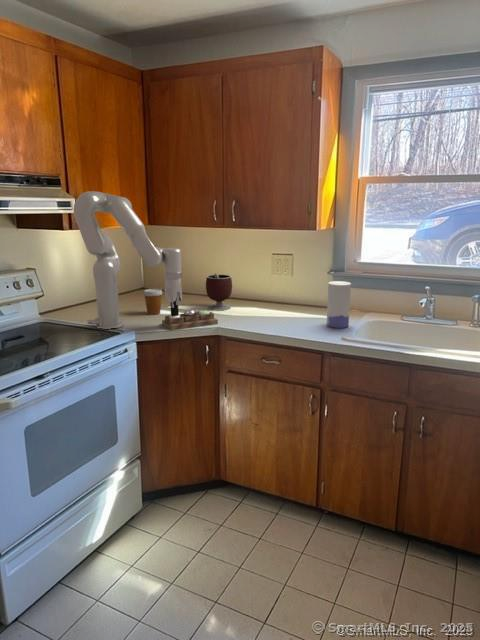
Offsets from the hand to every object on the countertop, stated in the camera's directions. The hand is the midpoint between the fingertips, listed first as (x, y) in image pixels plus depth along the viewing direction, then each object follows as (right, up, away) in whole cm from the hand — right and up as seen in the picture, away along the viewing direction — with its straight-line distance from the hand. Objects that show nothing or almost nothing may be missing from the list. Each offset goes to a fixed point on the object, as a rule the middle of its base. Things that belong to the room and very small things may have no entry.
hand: (174, 315), depth 217 cm
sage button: (+13, -1, +8) cm, 15 cm away
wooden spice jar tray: (+6, -4, +5) cm, 9 cm away
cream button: (0, -2, +1) cm, 2 cm away
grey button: (+6, 0, +4) cm, 7 cm away
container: (+75, -5, +3) cm, 75 cm away
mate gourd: (+19, +4, +36) cm, 40 cm away
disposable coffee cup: (-14, +1, +25) cm, 29 cm away
